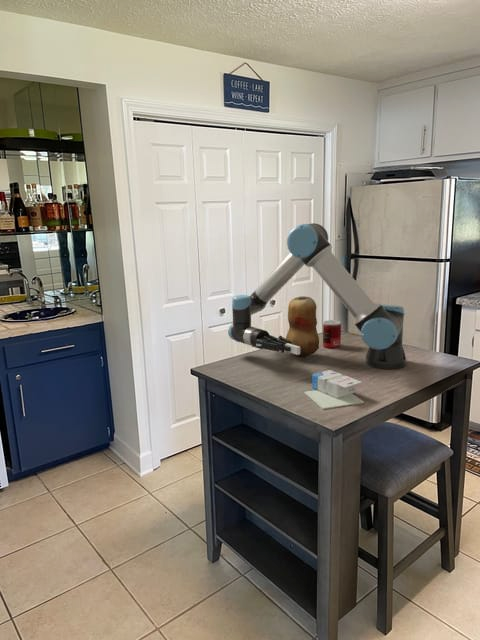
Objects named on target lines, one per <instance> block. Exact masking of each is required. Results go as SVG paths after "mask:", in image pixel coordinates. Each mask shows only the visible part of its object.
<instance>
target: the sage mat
mask: <svg viewBox="0 0 480 640" xmlns="http://www.w3.org/2000/svg"><path fill="white" fill-rule="evenodd" d="M303 393H304V394H305V395H306V396H307V397H309V399H311V400H312V401H313V402H314V403H315V404H316V405H317V406H319V407H320V408H321V409H322V410H329V409H336V408H342V407H348V406H354V405H360V404H365V401H363V400H362V399H361V398H359V397H358V396H356V395H355V394H354V393H352V394H349V395H346V396H343V397H340V398H335V397H333V396H331V395H328V394H326V393H324V392H321V391H319V390H316V389H314V390H308V391H307V390H306V391H304V392H303Z"/></svg>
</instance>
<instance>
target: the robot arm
mask: <svg viewBox="0 0 480 640" xmlns="http://www.w3.org/2000/svg"><path fill="white" fill-rule="evenodd" d="M286 245H287V250H288V251H289V253H288V254H287V256H285V257H284V259H282V261H281V262H280V263H278V265H277V266H276V267H275V268H274V270H273V271H272V272H271V273H269V275H268V276H267V277H266V278H265V279H264V280H263V281H262V283H260V285H259V286H258V287H257V288H256V289H255V290H254V291H253V292H252V293H251V294H250V295H248V294H236V295H234V296H233V297H232V302H231V307H232V323H231V324H230V325H229V328H228V329H227V333H228V337H229V338H230V339H231V340H233V341H235V342H237V343H242V344H244V345H247V346H251V347H252V348H256V349H259V350H268V351H273V352H276V353H278V352H280V353H281V354H283V353H285V352H287V353H289V354H291V353H293V354H296V355H299V354H300V347H299V346H296V345H292V341H289V340H287V339H286V337H284V336H283V335H279V336H278V337H275V336H273V335H270V333H269V332H268V331H267V330H265V329H261V328H258V327H255V326H252V315H254V314H257V313H259V312H262V311H264V309H265V308H266V306H267V304H268V303H269V302H270V301H271V299H273V298H274V296H276V295H277V294H278V292H279V291H281V289H282V288H283V287H284V286H286V284H287V283H288V282H289V281H291V279H292V278H293V277H294V276H295V275H296V274H297V273H298V272H299V270H301V268H303V266H304V265H305V266H306V267H308V268H309V267H310V268H313V269H314V270H315V272H316V273H317V274H318V276H320V278H321V279H322V280H323V281H324V283H325V284H326V285H327V286H328V287H329V289H330V290H331V291H332V292H333V293H334V294H335V296H336V298H338V300H339V301H340V302H341V303H342V304H343V305H344V307H345V308H346V310H347V311H348V312H349V313H350V314H351V315H352V316H353V317H354V326H355V327H356V328H357V329H358V331H359V332H360V336H361V339H362V341H363V342H364V344H365V346H368V350H367V352H366V354H365V363H366V365H368V366H370V367H373V368H377V369H383V370H385V369H387V370H394V369H401V368H404V367H405V366H406V365H407V357H406V353H405V350H404V347H403V336H404V321H405V320H404V316H405V308H404V306H402V305H396V304H395V305H394V304H381V303H376V302H374V301H373V300H372V299H371V297H370V296H369V295H368V294H367V292H365V290H364V289H363V288H362V287H361V285H360V284H359V283H358V281H356V280H355V278H354V277H353V276H352V275H351V273H349V271H348V270H347V269H346V268H345V267H344V265H343V264H342V263H341V261H339V259H338V258H337V257H336V255H334V253H333V252H332V247H333V245H331V243H330V242H329V233H328V231H327V230H326V228H325V227H324V226H323V225H321V224H319V223H302V224H299V225H296V226H295V227H294V228H292V229H291V230H290V231H289V233H288V235H287V239H286ZM293 354H292V355H293Z"/></svg>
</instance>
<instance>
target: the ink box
mask: <svg viewBox="0 0 480 640" xmlns="http://www.w3.org/2000/svg"><path fill="white" fill-rule="evenodd" d="M311 382H312V383H311V385H312V386H311V387H312V389H314V390H319V391H321V392H324V393H326V394H328V395H331V396H333V397H335V398H340V397H343V396H346V395H349V394H354V393H356V385H358V384H361V383H362V381H360V380H358V379H355V378H352V377H350V376H348V375H345V374H342V373H339V372H336V371H334V370H331V369H328V370H325V371H320V372H317V373H314V374H312V375H311Z"/></svg>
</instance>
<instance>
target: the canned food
mask: <svg viewBox="0 0 480 640" xmlns="http://www.w3.org/2000/svg"><path fill="white" fill-rule="evenodd" d="M341 338H342V322H341V321H339V320H334V319H333V320H331V319H330V320H329V319H328V320H325V321H323V323H322V347H323V348H325V349H329V350H331V349H332V350H334V349H335V350H336V349H339V348H340V347H341V341H342V340H341Z"/></svg>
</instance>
